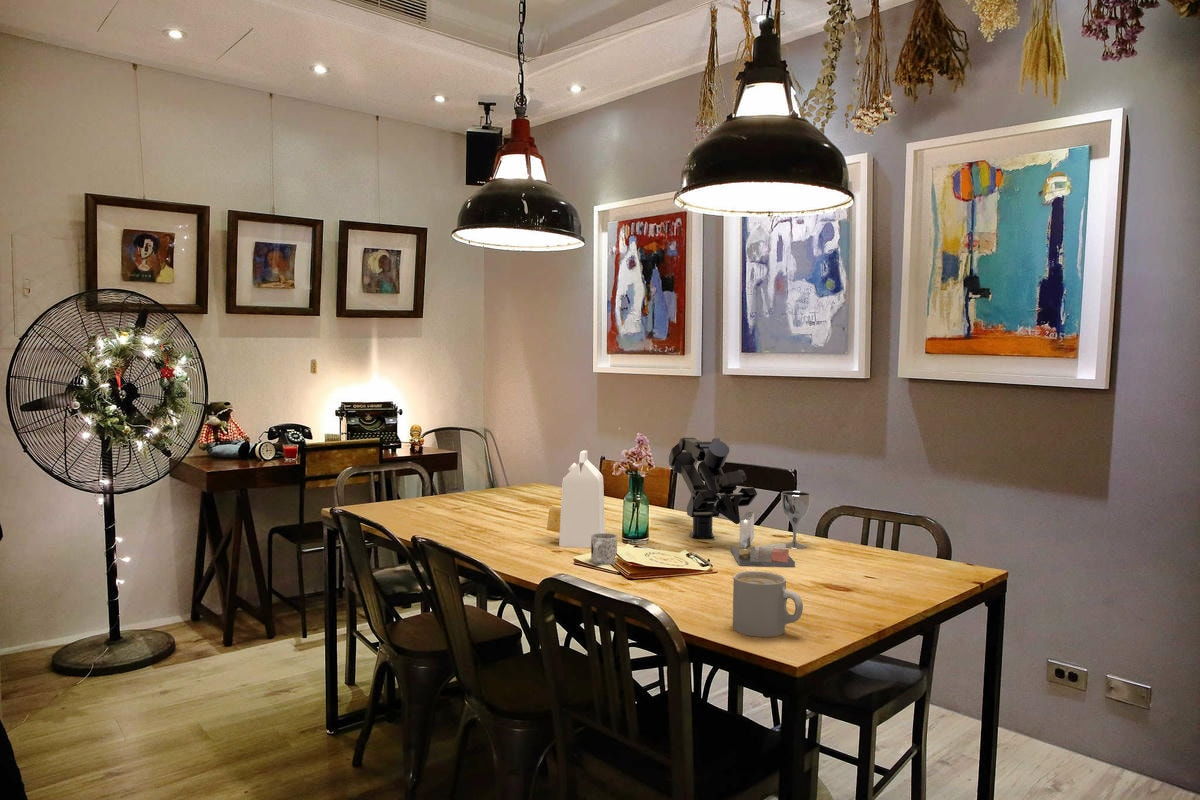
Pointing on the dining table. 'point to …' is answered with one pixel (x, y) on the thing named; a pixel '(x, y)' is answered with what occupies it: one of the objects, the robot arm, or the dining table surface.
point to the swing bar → (746, 530)
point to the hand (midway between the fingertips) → (738, 523)
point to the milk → (581, 504)
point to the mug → (603, 548)
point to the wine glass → (795, 512)
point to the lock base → (763, 555)
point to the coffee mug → (762, 604)
